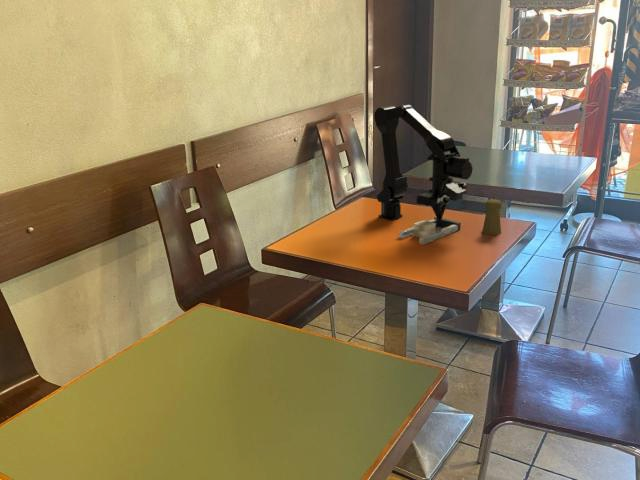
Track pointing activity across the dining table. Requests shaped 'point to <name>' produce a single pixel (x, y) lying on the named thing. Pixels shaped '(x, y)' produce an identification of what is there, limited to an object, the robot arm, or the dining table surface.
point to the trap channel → (441, 229)
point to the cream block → (423, 228)
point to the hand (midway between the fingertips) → (439, 219)
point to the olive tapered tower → (492, 217)
